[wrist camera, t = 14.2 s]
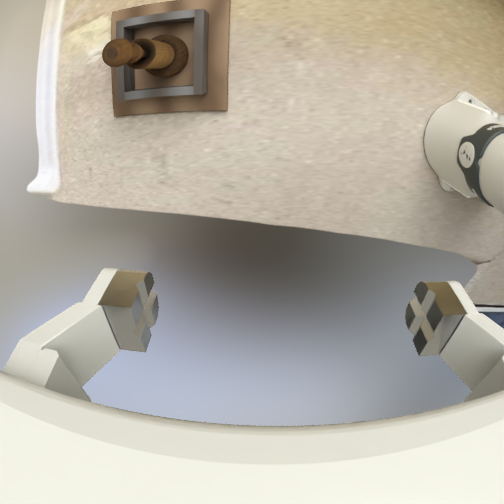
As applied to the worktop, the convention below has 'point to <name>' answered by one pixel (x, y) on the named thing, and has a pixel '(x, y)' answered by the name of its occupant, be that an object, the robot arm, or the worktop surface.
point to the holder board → (196, 70)
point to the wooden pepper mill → (148, 54)
